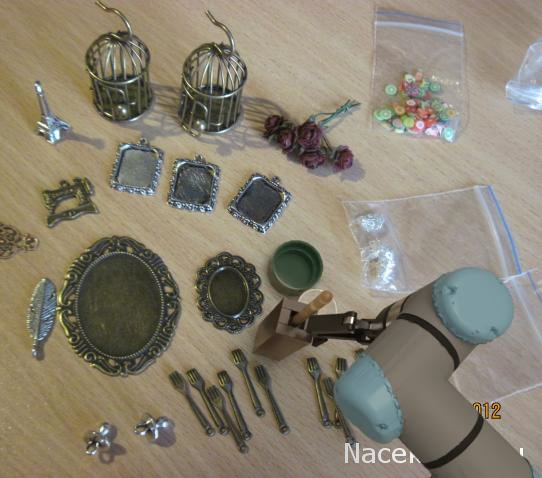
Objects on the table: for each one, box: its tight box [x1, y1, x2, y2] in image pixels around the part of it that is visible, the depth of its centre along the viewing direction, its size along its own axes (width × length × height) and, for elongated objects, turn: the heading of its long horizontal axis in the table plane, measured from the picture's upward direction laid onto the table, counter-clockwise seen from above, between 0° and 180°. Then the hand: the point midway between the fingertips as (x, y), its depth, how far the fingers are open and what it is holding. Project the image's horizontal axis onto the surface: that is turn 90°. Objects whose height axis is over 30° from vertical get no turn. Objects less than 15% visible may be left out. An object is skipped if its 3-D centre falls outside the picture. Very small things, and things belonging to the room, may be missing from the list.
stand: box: [251, 296, 319, 362], centre depth 101 cm, size 6×6×26 cm
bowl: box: [267, 239, 324, 297], centre depth 116 cm, size 11×11×6 cm
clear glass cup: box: [296, 288, 338, 315], centre depth 111 cm, size 8×8×10 cm
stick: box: [288, 289, 334, 328], centre depth 82 cm, size 2×2×22 cm
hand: (356, 350), depth 87 cm, fingers open, 13 cm apart
